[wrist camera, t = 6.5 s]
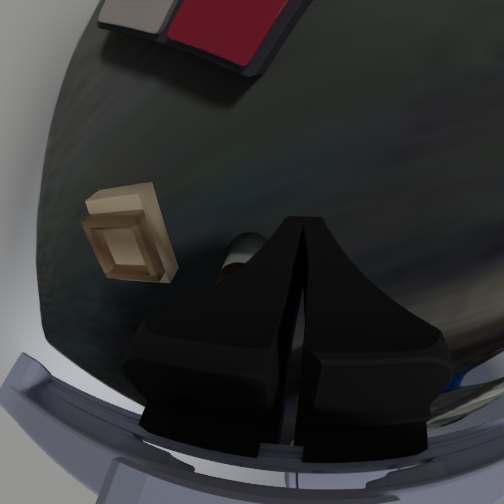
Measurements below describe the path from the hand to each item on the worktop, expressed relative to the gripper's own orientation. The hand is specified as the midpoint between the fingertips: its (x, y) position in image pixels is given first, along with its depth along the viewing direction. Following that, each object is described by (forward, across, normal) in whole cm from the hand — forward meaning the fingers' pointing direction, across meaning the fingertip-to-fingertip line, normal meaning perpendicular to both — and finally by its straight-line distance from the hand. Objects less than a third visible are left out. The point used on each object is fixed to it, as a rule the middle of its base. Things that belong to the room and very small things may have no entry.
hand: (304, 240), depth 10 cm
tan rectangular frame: (+8, +14, +4) cm, 16 cm away
